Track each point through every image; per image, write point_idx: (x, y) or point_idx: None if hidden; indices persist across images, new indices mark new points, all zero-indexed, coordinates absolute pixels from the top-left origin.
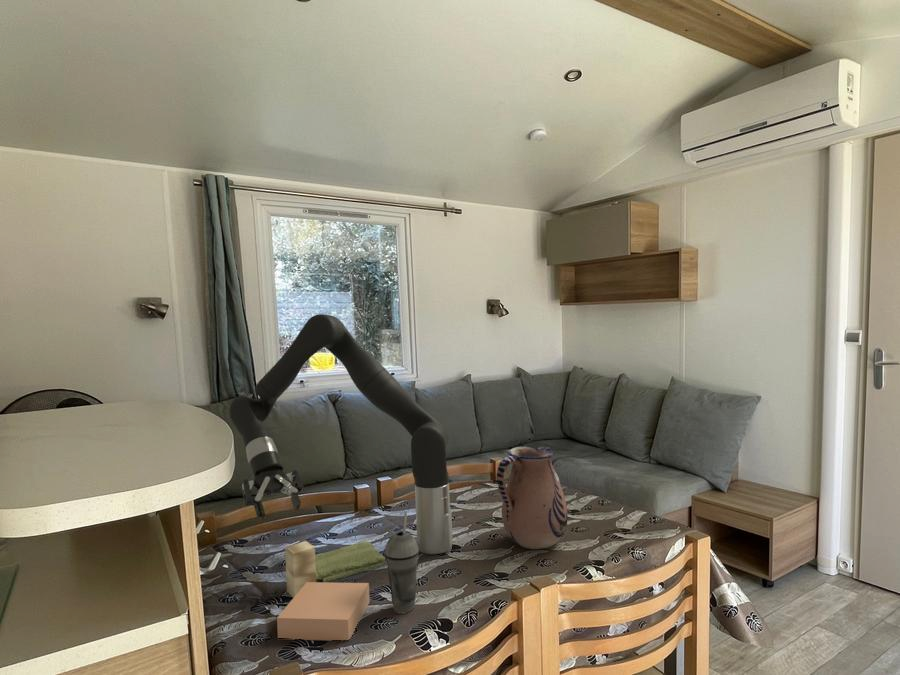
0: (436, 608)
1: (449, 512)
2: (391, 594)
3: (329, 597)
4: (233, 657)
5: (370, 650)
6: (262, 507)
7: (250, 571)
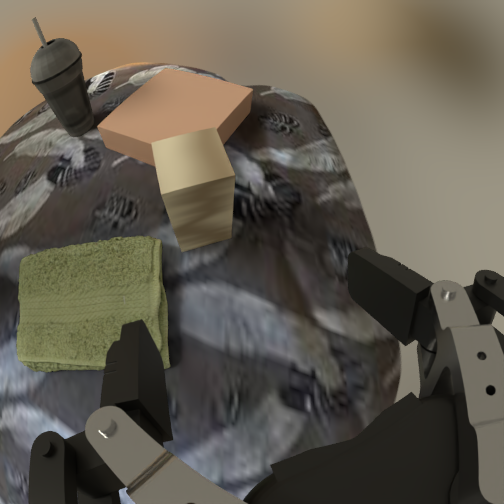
0: None
1: None
2: (89, 106)
3: (167, 105)
4: (301, 106)
5: None
6: (383, 266)
7: (323, 384)
